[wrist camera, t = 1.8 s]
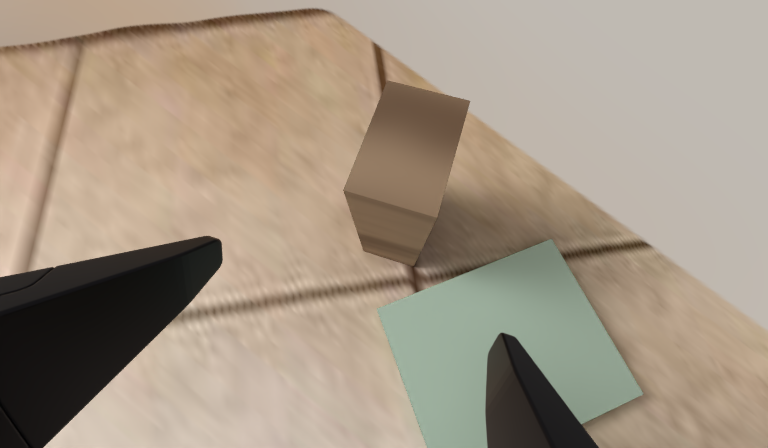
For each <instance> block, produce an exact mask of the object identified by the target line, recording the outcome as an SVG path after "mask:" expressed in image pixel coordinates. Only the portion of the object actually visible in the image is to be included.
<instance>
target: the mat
mask: <svg viewBox="0 0 768 448" xmlns="http://www.w3.org/2000/svg"><path fill="white" fill-rule="evenodd" d="M377 311H378V314H379V316H380V319H381V322H382V325H383V327H384V330H385V333H386V336H387V338H388V341H389V344H390V347H391V349H392V352H393V355H394V358H395V360H396V363H397V366H398V369H399V371H400V374H401V377H402V380H403V382H404V385H405V388H406V391H407V393H408V396H409V399H410V402H411V405H412V407H413V410H414V413H415V416H416V418H417V421H418V424H419V427H420V429H421V432H422V435H423V438H424V440H425V443H426V446H427V448H487V433H486V417H485V401H486V378H487V357H488V353H489V350H490V348H491V347H492V345H493V343H494V341H495V340H496V338H497V336H498V335H499V334H500V333H506V334H509V335H512V336H514V337H516V338H517V339H518V341H519V342H520V343H521V345H522V346H523V347H524V349H525V350H526V351H527V353H528V354H529V355H530V357H531V358H532V359H533V361H534V362H535V363H536V365H537V366H538V367H539V369H540V370H541V371H542V373H543V374H544V375H545V377H546V378H547V379H548V381H549V382H550V383H551V385H552V386H553V387H554V389H555V390H556V391H557V393H558V394H559V395H560V397H561V398H562V399H563V401H564V402H565V403H566V405H567V406H568V407H569V409H570V410H571V411H572V413H573V414H574V415H575V417H576V418H577V419H578V421H579V422H580V423H581V424H583V423H585V422H587V421H589V420H591V419H594V418H596V417H598V416H600V415H602V414H604V413H606V412H608V411H610V410H612V409H614V408H616V407H618V406H620V405H622V404H625V403H627V402H629V401H631V400H633V399H635V398H637V397H639V396H641V395H643V392H642V390H641V389H640V387H639V385H638V384H637V382H636V380H635V379H634V377H633V375H632V374H631V372H630V370H629V369H628V367H627V365H626V363H625V362H624V360H623V358H622V357H621V355H620V353H619V352H618V350H617V348H616V347H615V345H614V343H613V341H612V340H611V338H610V336H609V335H608V333H607V331H606V330H605V328H604V326H603V325H602V323H601V321H600V319H599V318H598V316H597V314H596V313H595V311H594V309H593V308H592V306H591V304H590V303H589V301H588V299H587V298H586V296H585V294H584V292H583V291H582V289H581V287H580V286H579V284H578V282H577V281H576V279H575V277H574V276H573V274H572V272H571V270H570V269H569V267H568V265H567V264H566V262H565V260H564V259H563V257H562V255H561V254H560V252H559V250H558V249H557V247H556V245H555V243H554V242H553V240H552V239H550V240H547V241H545V242H542V243H540V244H537V245H535V246H532V247H530V248H527V249H525V250H522V251H520V252H517V253H515V254H512V255H510V256H507V257H505V258H502V259H500V260H497V261H495V262H492V263H490V264H487V265H485V266H482V267H480V268H477V269H475V270H472V271H470V272H467V273H465V274H462V275H460V276H457V277H455V278H452V279H450V280H447V281H445V282H442V283H440V284H437V285H435V286H432V287H430V288H427V289H425V290H422V291H420V292H418V293H415V294H413V295H410V296H408V297H405V298H403V299H400V300H398V301H395V302H393V303H390V304H388V305H385V306H383V307H380V308H378V309H377Z"/></svg>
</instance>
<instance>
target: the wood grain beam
mask: <svg viewBox="0 0 768 448" xmlns="http://www.w3.org/2000/svg"><path fill="white" fill-rule="evenodd" d="M469 103H470V101H468V100H464V99H460V98H456V97H452V96H448V95H444V94H440V93H436V92H432V91H428V90H424V89H420V88H416V87H412V86H408V85H404V84H400V83H396V82H392V81H387V83H386V85H385V88H384V90H383V93H382V95H381V98H380V100H379V103H378V105H377V108H376V110H375V113H374V115H373V118H372V120H371V123H370V125H369V128H368V130H367V133H366V135H365V138H364V140H363V143H362V145H361V148H360V150H359V152H358V155H357V157H356V160H355V162H354V165H353V167H352V170H351V172H350V175H349V177H348V180H347V182H346V185H345V187H344V190H343V191H344V194H345V197H346V200H347V203H348V206H349V209H350V212H351V215H352V218H353V221H354V224H355V227H356V230H357V233H358V235H359V238H360V241H361V244H362V247H363V250H364V251H365V252H369V253H372V254H375V255H378V256H381V257H384V258H388V259H391V260H394V261H397V262H400V263H403V264H407V265H410V266H413V267H414V265H415V263H416V260H417V258H418V256H419V254H420V252H421V250H422V248H423V246H424V244H425V242H426V240H427V238H428V236H429V234H430V232H431V230H432V228H433V226H434V224H435V222H436V220H437V217H438V214H439V210H440V206H441V203H442V199H443V196H444V192H445V189H446V185H447V182H448V178H449V174H450V171H451V167H452V164H453V160H454V157H455V153H456V150H457V146H458V142H459V139H460V135H461V132H462V128H463V125H464V121H465V118H466V114H467V110H468V107H469Z"/></svg>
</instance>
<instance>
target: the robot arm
mask: <svg viewBox="0 0 768 448" xmlns="http://www.w3.org/2000/svg"><path fill="white" fill-rule="evenodd" d="M222 261H223V258H222V243H221V241H220V240H219V239H217V238H214V237H211V236H203V237H198V238H193V239H188V240H183V241H178V242H174V243H169V244H164V245H159V246H154V247H149V248H144V249H139V250H134V251H129V252H124V253H119V254H115V255H110V256H105V257H100V258H95V259H90V260H85V261H80V262H75V263H70V264H65V265H60V266H56V267H55V268H53V267H50V268H45V269H40V270H36V271H31V272H25V273H20V274H15V275H10V276H5V277H0V448H43V447H44V446H45V445H46V444H47V443H48V442H49V441H50V440H51V439H52V438H53V437H54V436H56V435H57V434H58V433H59V432H60V431H61V430H62V429H63V428H64V427H65V426H66V425H67V424H68V423H69V422H70V421H71V420H72V419H73V418H74V417H75V416H76V415H77V414H78V413H79V412H80V411H81V410H82V409H83V408H84V407H85V406H86V405H87V404H88V403H89V402H90V401H91V400H92V399H93V398H94V397H95V396H96V395H97V394H98V393H99V392H100V391H101V390H102V389H103V388H104V387H105V386H106V385H107V384H108V383H109V382H110V381H111V380H112V379H113V378H114V377H115V376H117V375H118V374H119V373H120V372H121V371H122V370H123V369H124V368H125V367H126V366H127V365H128V364H129V363H130V362H131V361H132V360H133V359H134V358H135V357H136V356H137V355H138V354H139V353H140V352H141V351H142V350H143V349H144V348H145V347H146V346H147V345H148V344H149V343H150V342H151V341H152V340H153V339H154V338H155V337H156V336H157V335H158V334H159V333H160V332H161V331H162V330H163V329H164V328H165V327H166V326H167V325H168V324H169V323H170V322H171V321H172V320H173V319H174V318H175V317H176V316H178V315H179V314H180V313H181V312H182V311H183V310H184V309H185V307H186V306H187V305H188V304H189V303H190V302H191V301H192V300H193V299H194V298H195V296H196V295H197V294H198V293H199V292H200V290H201V289H202V288H203V287H204V286H205V284H206V283H207V282H208V281H209V280H210V279H211V277H212V276H213V275H214V274H215V273H216V271H217V270H218V269H219V268H220V266H221V264H222ZM485 417H486V433H487V448H599V447H598V446H597V445H596V443H595V442H594V441H593V439H592V438H591V437H590V435H589V434H588V433H587V431H586V430H585V429H584V427H583V426H582V425H581V423H580V422H579V421H578V419H577V418H576V417H575V415H574V414H573V413H572V411H571V410H570V409H569V407H568V406H567V405H566V403H565V402H564V401H563V399H562V398H561V397H560V395H559V394H558V393H557V391H556V390H555V389H554V387H553V386H552V385H551V383H550V382H549V381H548V379H547V378H546V377H545V375H544V374H543V373H542V371H541V370H540V369H539V367H538V366H537V365H536V363H535V362H534V361H533V359H532V358H531V357H530V355H529V354H528V353H527V351H526V350H525V349H524V347H523V346H522V345H521V343H520V342H519V341H518V339H517V338H516V337H514V336H512V335H509V334H506V333H500V334H499V335H498V336H497V338H496V340H495V341H494V343H493V345H492V347H491V348H490V350H489V353H488V357H487V378H486V401H485Z"/></svg>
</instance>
